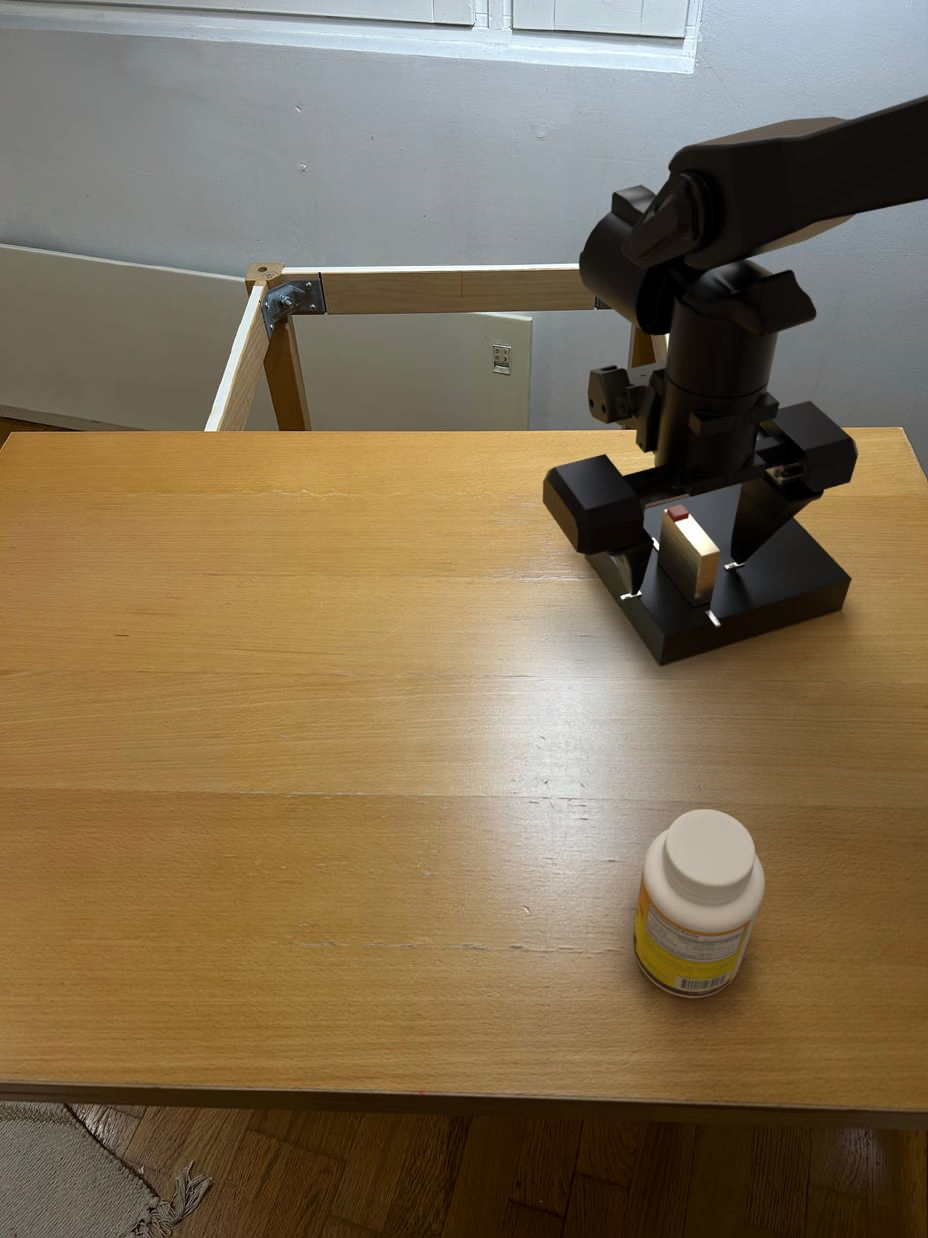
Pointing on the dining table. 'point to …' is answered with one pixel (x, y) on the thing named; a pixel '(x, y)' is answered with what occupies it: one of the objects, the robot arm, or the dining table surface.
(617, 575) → the console
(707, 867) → the supplement bottle
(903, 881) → the dining table surface
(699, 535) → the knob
